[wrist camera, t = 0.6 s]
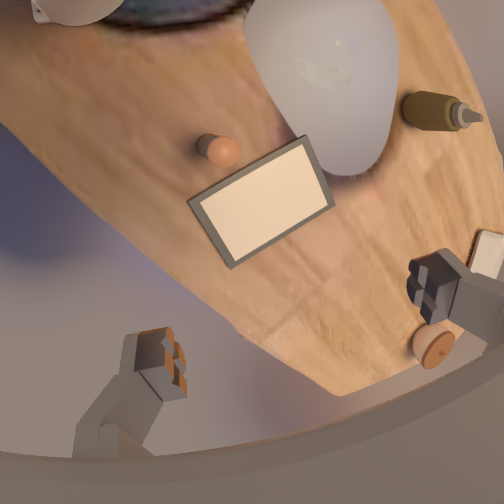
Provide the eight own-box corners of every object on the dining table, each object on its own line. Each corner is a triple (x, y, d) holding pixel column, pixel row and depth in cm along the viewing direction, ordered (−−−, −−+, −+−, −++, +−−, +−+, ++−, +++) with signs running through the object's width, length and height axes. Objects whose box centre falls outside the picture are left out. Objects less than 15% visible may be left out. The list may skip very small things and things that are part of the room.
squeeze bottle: (423, 131, 58) (490, 144, 42) (396, 125, 55) (467, 137, 40) (425, 94, 54) (493, 100, 39) (398, 86, 52) (469, 89, 36)
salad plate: (474, 226, 75) (483, 230, 72) (503, 232, 82) (511, 236, 79) (451, 293, 82) (459, 299, 79) (483, 290, 89) (490, 295, 86)
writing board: (187, 200, 50) (188, 202, 49) (304, 134, 51) (307, 135, 50) (228, 267, 57) (230, 270, 56) (332, 203, 58) (336, 205, 57)
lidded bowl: (440, 311, 83) (464, 331, 73) (429, 344, 88) (451, 364, 78) (411, 323, 80) (436, 345, 70) (400, 357, 85) (422, 379, 75)
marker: (190, 140, 47) (202, 146, 36) (212, 128, 47) (230, 131, 36) (202, 161, 48) (217, 174, 38) (224, 149, 49) (245, 158, 38)
